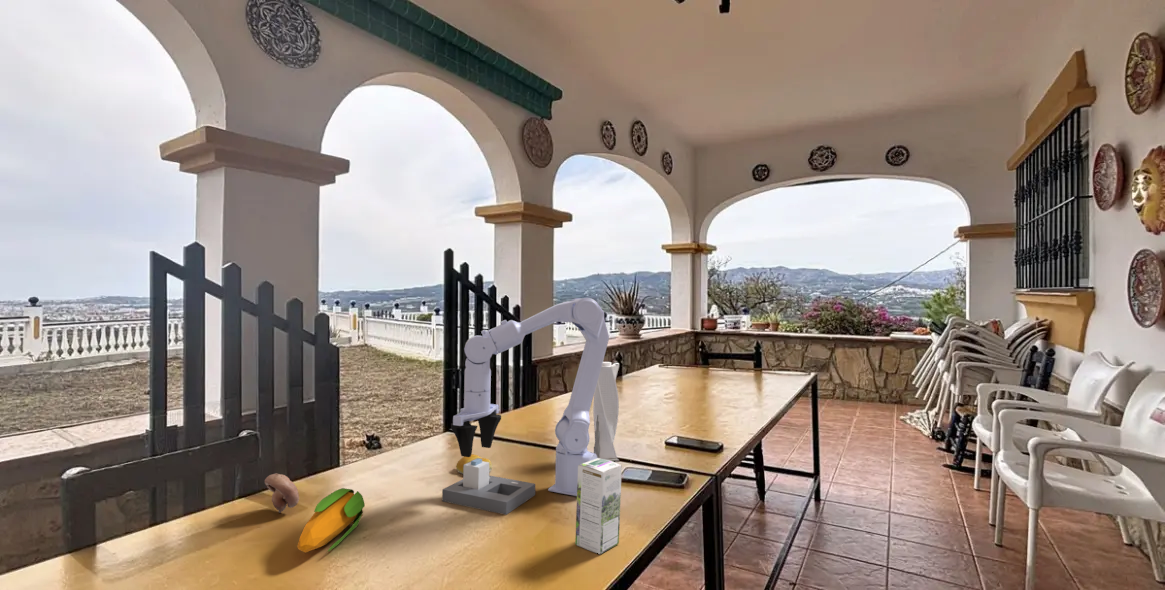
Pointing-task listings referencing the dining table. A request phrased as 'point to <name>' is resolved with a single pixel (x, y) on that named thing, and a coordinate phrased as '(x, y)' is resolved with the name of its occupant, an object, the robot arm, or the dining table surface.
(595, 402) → the skyscraper
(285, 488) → the mushroom
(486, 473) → the plug
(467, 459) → the bread roll
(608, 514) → the syrup box
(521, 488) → the port panel
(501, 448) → the dining table surface
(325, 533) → the corn
